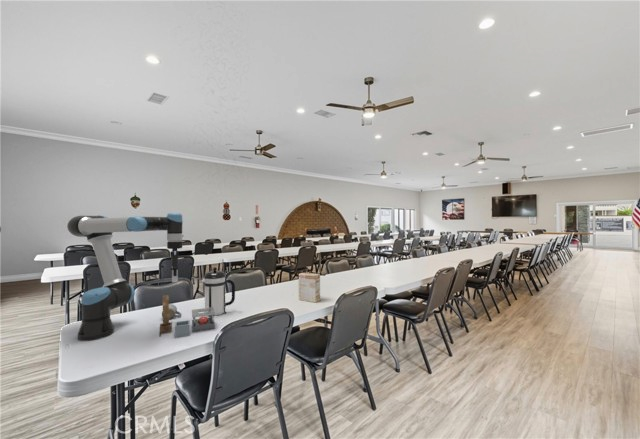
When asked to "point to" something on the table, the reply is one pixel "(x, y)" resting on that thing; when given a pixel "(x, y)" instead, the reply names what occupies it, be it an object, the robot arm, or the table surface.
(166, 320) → the dowel
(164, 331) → the dowel holder
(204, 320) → the button
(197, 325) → the button base
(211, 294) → the coffee press
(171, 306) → the ceramic mug
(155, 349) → the table surface
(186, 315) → the table surface
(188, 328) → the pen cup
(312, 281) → the coffeecake box
